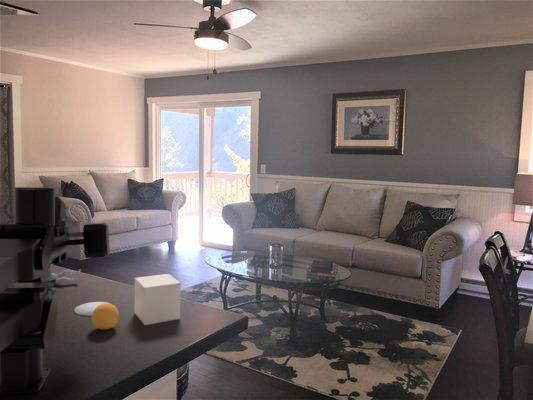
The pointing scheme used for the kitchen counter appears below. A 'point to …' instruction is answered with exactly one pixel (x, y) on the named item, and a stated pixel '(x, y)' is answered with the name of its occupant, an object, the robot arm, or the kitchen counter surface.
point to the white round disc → (87, 308)
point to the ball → (105, 316)
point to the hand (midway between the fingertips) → (67, 237)
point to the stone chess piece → (47, 280)
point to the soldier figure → (63, 279)
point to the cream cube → (157, 298)
